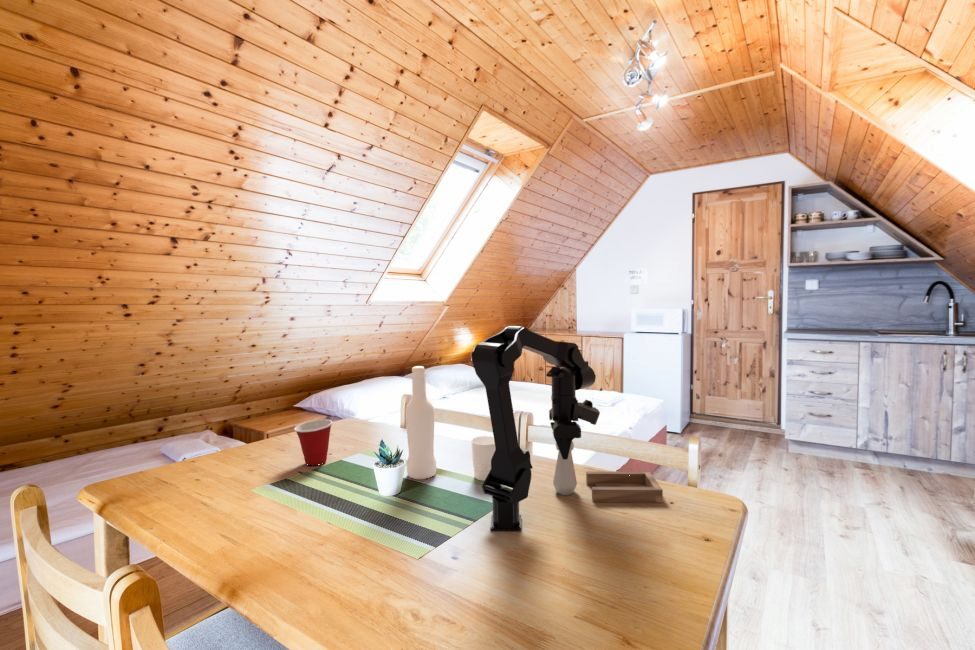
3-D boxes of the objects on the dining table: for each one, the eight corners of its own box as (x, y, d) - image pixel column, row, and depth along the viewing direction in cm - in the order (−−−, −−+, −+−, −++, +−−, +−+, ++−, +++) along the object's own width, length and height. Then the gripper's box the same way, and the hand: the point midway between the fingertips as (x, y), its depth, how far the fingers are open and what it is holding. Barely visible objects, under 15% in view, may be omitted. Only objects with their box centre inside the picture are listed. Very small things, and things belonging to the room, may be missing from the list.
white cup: (489, 484, 126) (488, 446, 126) (466, 478, 131) (465, 441, 130) (507, 474, 133) (506, 438, 132) (484, 469, 137) (483, 434, 137)
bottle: (431, 481, 129) (427, 369, 127) (402, 479, 131) (398, 368, 129) (440, 470, 137) (437, 364, 135) (413, 468, 139) (409, 364, 137)
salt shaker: (578, 496, 118) (578, 443, 117) (554, 496, 118) (554, 444, 117) (574, 486, 123) (574, 436, 122) (551, 487, 124) (551, 436, 123)
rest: (662, 502, 113) (662, 489, 113) (592, 502, 114) (592, 489, 114) (649, 483, 125) (649, 471, 125) (586, 482, 126) (586, 471, 126)
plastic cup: (294, 460, 148) (292, 421, 147) (331, 454, 153) (330, 417, 152) (297, 472, 138) (295, 430, 137) (336, 465, 143) (334, 425, 142)
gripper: (603, 401, 109) (604, 470, 110) (591, 385, 128) (591, 444, 129) (553, 402, 110) (554, 469, 111) (548, 386, 128) (549, 444, 129)
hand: (564, 456), depth 120 cm, fingers closed on salt shaker, 4 cm apart
